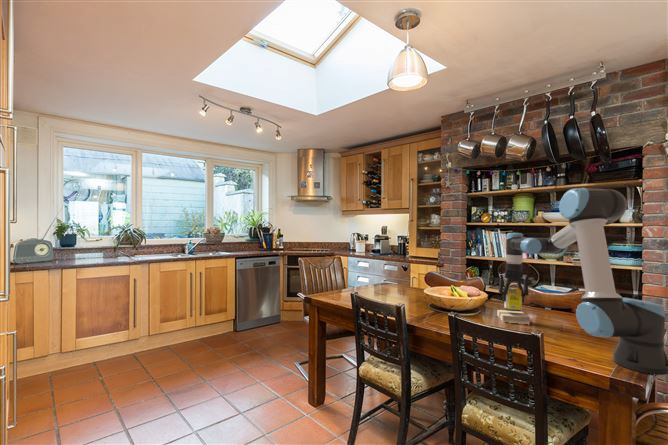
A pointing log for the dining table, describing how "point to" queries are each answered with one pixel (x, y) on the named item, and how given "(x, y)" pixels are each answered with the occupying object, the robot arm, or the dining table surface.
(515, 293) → the supplement box
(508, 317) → the maple block
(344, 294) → the dining table surface
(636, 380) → the dining table surface
